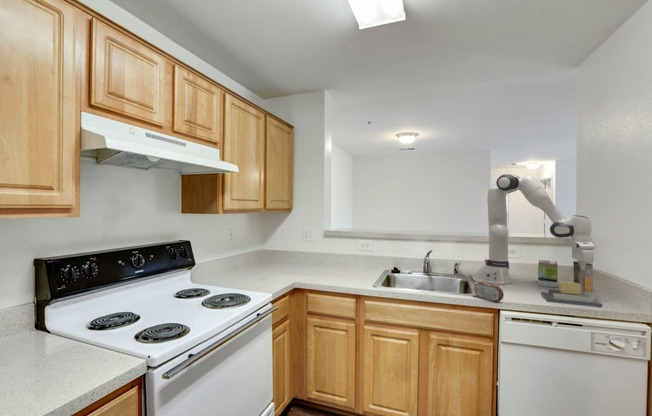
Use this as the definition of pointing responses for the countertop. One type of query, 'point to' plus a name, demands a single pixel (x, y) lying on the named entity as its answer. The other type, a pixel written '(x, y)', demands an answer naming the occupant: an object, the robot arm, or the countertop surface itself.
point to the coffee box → (582, 273)
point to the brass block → (569, 288)
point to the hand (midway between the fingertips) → (582, 269)
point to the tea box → (547, 273)
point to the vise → (571, 299)
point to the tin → (488, 291)
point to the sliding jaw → (586, 287)
